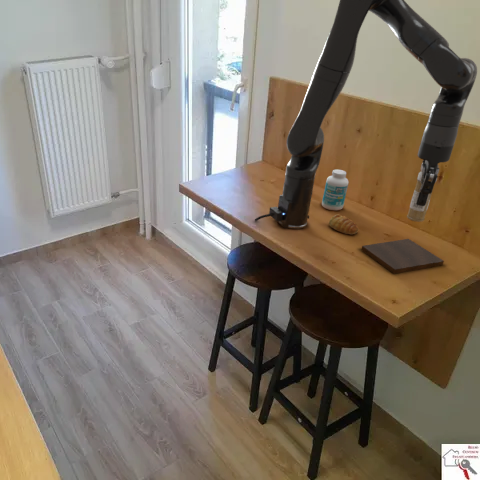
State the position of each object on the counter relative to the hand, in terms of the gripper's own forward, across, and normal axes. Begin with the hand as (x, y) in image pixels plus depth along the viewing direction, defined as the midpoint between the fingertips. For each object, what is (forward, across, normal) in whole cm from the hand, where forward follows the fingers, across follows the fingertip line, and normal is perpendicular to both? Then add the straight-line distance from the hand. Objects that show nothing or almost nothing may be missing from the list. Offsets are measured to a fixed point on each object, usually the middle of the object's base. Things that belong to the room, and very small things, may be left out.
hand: (420, 201), depth 130 cm
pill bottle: (+18, -30, -23) cm, 42 cm away
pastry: (+18, -13, -18) cm, 29 cm away
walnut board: (+18, 0, -1) cm, 18 cm away
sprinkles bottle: (+5, 0, 0) cm, 5 cm away
